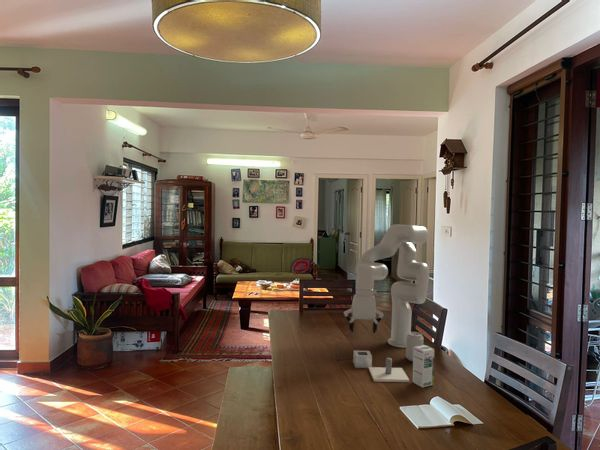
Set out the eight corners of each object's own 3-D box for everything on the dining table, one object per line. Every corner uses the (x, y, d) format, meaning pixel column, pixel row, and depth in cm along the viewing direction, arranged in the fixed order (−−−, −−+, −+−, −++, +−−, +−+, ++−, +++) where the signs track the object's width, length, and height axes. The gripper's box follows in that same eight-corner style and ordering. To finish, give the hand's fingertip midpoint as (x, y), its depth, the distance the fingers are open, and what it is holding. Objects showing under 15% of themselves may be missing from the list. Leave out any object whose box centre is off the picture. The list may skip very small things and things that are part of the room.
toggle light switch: (401, 370, 176) (402, 354, 176) (409, 382, 164) (410, 364, 164) (368, 369, 176) (369, 353, 176) (374, 381, 164) (374, 364, 164)
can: (423, 358, 191) (424, 332, 191) (421, 363, 184) (422, 337, 184) (407, 355, 194) (408, 330, 194) (404, 360, 188) (405, 334, 187)
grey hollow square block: (368, 361, 185) (369, 350, 184) (371, 368, 178) (372, 356, 177) (353, 361, 185) (353, 350, 184) (355, 367, 178) (355, 356, 177)
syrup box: (422, 388, 159) (424, 350, 159) (411, 382, 165) (413, 346, 164) (433, 385, 162) (435, 348, 161) (422, 379, 167) (424, 344, 167)
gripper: (382, 291, 183) (380, 330, 184) (343, 290, 183) (341, 328, 184) (386, 295, 176) (384, 335, 176) (345, 293, 176) (343, 333, 176)
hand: (362, 331), depth 180 cm, fingers open, 9 cm apart
